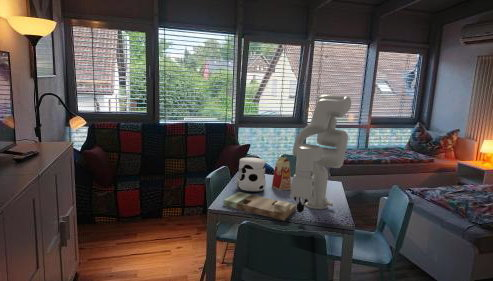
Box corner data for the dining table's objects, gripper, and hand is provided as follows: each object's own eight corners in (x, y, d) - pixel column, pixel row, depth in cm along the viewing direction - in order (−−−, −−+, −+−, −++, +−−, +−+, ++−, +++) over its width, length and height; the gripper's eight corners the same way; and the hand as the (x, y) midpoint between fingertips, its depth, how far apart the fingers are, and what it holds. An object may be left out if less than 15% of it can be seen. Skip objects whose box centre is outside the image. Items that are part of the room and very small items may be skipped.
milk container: (270, 189, 201) (272, 160, 198) (256, 196, 187) (258, 165, 184) (245, 183, 210) (247, 155, 207) (230, 190, 195) (232, 160, 192)
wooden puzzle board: (295, 210, 169) (295, 204, 169) (284, 220, 155) (284, 214, 155) (238, 197, 184) (238, 191, 183) (223, 205, 170) (223, 199, 169)
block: (289, 209, 161) (290, 203, 161) (285, 213, 156) (286, 206, 155) (278, 207, 164) (278, 200, 163) (273, 210, 158) (274, 203, 158)
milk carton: (291, 188, 206) (294, 157, 202) (279, 190, 200) (282, 158, 197) (281, 184, 213) (284, 154, 210) (270, 186, 208) (272, 155, 204)
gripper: (321, 174, 153) (317, 212, 156) (290, 169, 159) (287, 205, 162) (317, 178, 146) (313, 218, 149) (285, 172, 153) (282, 210, 156)
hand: (300, 211), depth 156 cm, fingers closed
